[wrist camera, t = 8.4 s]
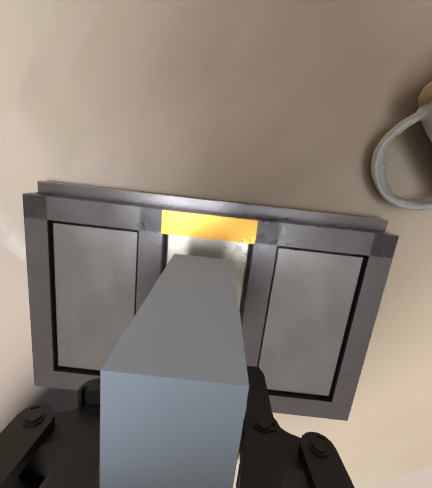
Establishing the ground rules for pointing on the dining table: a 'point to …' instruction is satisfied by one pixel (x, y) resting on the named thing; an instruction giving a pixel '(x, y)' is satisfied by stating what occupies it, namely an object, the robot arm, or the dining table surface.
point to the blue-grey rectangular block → (177, 383)
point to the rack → (213, 246)
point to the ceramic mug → (428, 114)
